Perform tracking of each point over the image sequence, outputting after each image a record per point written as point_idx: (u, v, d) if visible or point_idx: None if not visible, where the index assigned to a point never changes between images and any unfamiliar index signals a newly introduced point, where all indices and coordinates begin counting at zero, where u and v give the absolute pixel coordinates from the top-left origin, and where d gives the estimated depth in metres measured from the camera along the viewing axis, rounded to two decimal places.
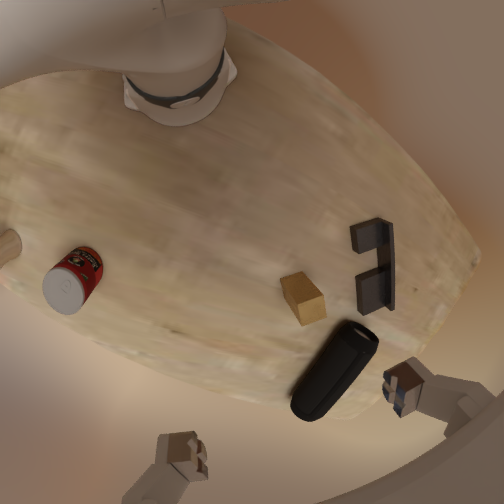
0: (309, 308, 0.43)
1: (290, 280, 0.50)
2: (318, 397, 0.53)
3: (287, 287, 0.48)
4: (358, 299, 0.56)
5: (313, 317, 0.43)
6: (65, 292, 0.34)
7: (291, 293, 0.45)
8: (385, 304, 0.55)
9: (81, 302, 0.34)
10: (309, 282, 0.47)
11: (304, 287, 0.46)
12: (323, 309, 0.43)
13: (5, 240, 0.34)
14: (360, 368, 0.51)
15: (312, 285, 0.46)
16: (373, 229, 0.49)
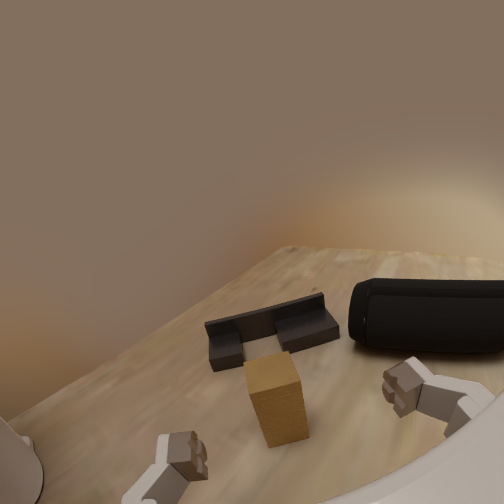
0: (262, 376, 0.23)
1: None
2: (474, 305, 0.24)
3: (261, 428, 0.23)
4: (319, 342, 0.40)
5: (283, 367, 0.23)
6: None
7: (257, 416, 0.22)
8: (321, 307, 0.45)
9: None
10: None
11: None
12: (271, 357, 0.25)
13: None
14: (399, 280, 0.33)
15: None
16: (215, 343, 0.42)
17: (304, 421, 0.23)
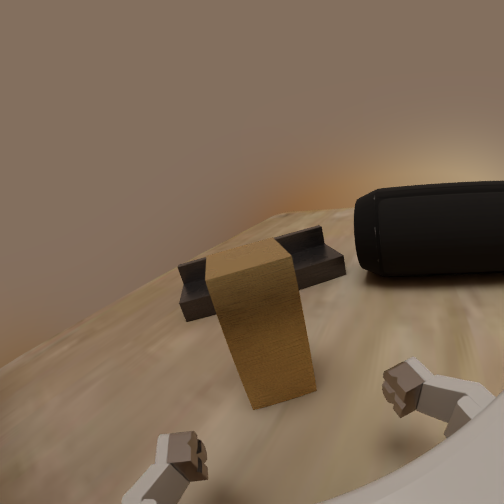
0: (230, 261, 0.15)
1: None
2: None
3: (236, 367, 0.15)
4: (321, 279, 0.32)
5: (265, 250, 0.16)
6: None
7: None
8: (320, 243, 0.37)
9: None
10: None
11: None
12: (248, 246, 0.18)
13: None
14: None
15: None
16: (189, 288, 0.34)
17: (306, 353, 0.16)
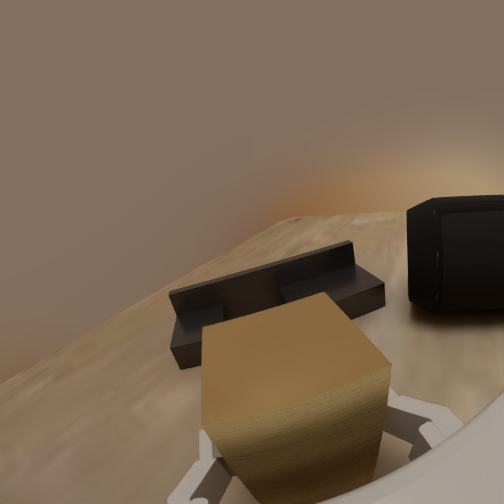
0: (253, 361, 0.07)
1: None
2: None
3: None
4: (355, 313, 0.24)
5: (322, 332, 0.07)
6: None
7: None
8: (350, 262, 0.29)
9: None
10: None
11: None
12: (281, 311, 0.09)
13: None
14: (471, 196, 0.17)
15: None
16: (184, 323, 0.26)
17: (368, 473, 0.07)
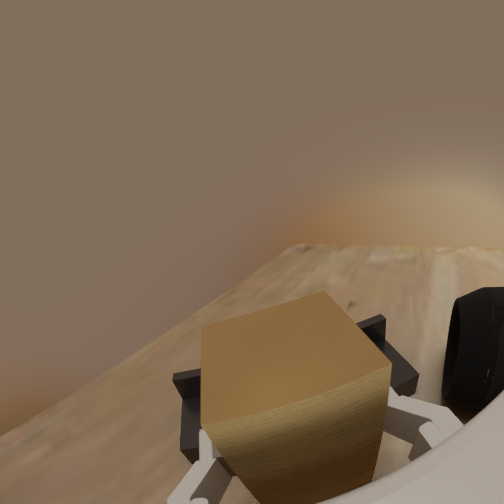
0: (253, 361, 0.07)
1: None
2: None
3: None
4: None
5: (322, 331, 0.07)
6: None
7: None
8: (380, 339, 0.23)
9: None
10: None
11: None
12: (281, 310, 0.09)
13: None
14: None
15: None
16: (192, 413, 0.20)
17: (369, 472, 0.07)
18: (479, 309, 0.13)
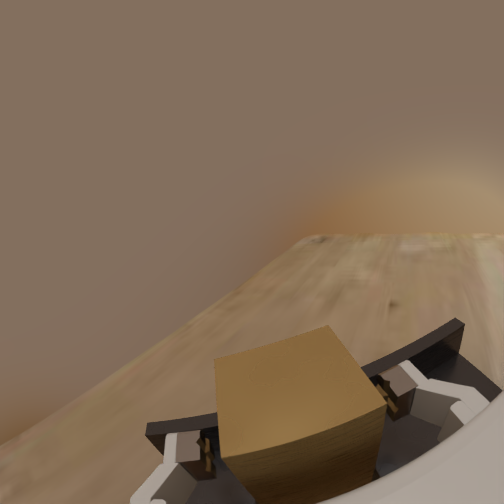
0: (264, 397, 0.07)
1: None
2: None
3: None
4: None
5: (326, 369, 0.08)
6: None
7: None
8: (454, 354, 0.13)
9: None
10: None
11: None
12: (288, 345, 0.10)
13: None
14: None
15: None
16: None
17: (365, 484, 0.08)
18: None
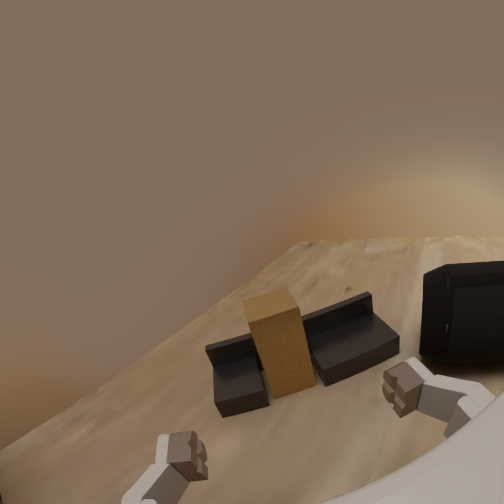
0: (261, 308, 0.24)
1: None
2: None
3: (265, 371, 0.24)
4: (373, 362, 0.25)
5: (282, 299, 0.25)
6: None
7: (259, 354, 0.24)
8: (368, 312, 0.30)
9: None
10: None
11: None
12: (270, 294, 0.27)
13: None
14: (482, 264, 0.18)
15: None
16: (222, 376, 0.28)
17: (308, 361, 0.25)
18: (437, 279, 0.20)
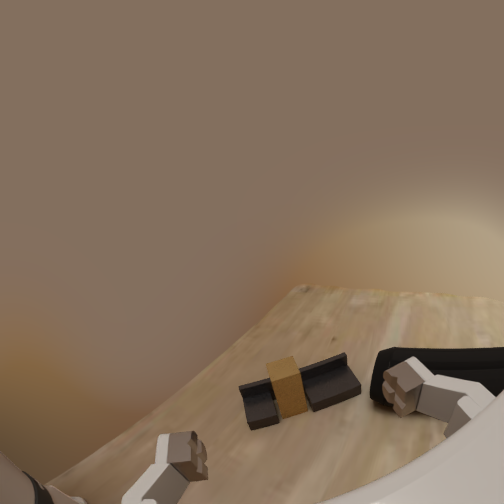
0: (277, 371, 0.39)
1: None
2: (478, 376, 0.25)
3: (278, 404, 0.39)
4: (344, 399, 0.40)
5: (290, 366, 0.40)
6: None
7: None
8: (344, 365, 0.45)
9: None
10: None
11: (273, 388, 0.41)
12: (282, 360, 0.42)
13: None
14: (416, 352, 0.34)
15: None
16: (250, 405, 0.42)
17: (304, 399, 0.40)
18: (383, 360, 0.35)
